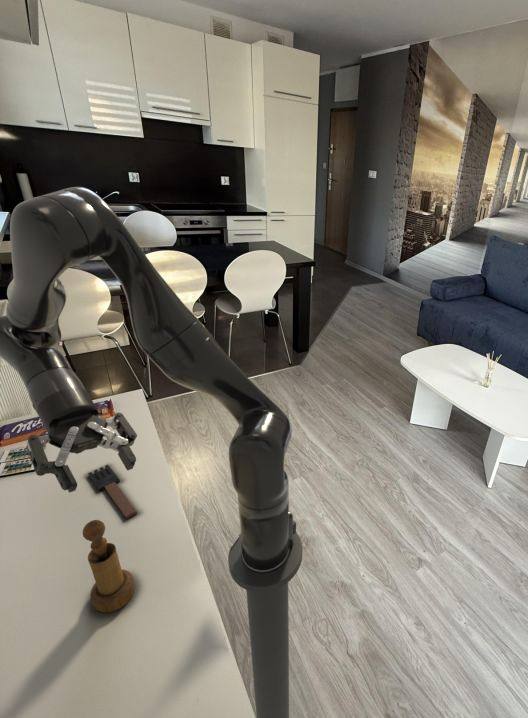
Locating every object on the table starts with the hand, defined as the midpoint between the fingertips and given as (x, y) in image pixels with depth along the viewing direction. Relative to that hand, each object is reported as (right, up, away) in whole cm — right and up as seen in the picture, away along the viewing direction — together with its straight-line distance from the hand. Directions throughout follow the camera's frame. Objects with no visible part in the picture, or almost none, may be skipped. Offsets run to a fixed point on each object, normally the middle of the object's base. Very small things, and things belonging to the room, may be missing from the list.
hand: (104, 477), depth 63 cm
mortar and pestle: (-3, -24, +8) cm, 25 cm away
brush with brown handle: (-15, -12, +27) cm, 34 cm away
